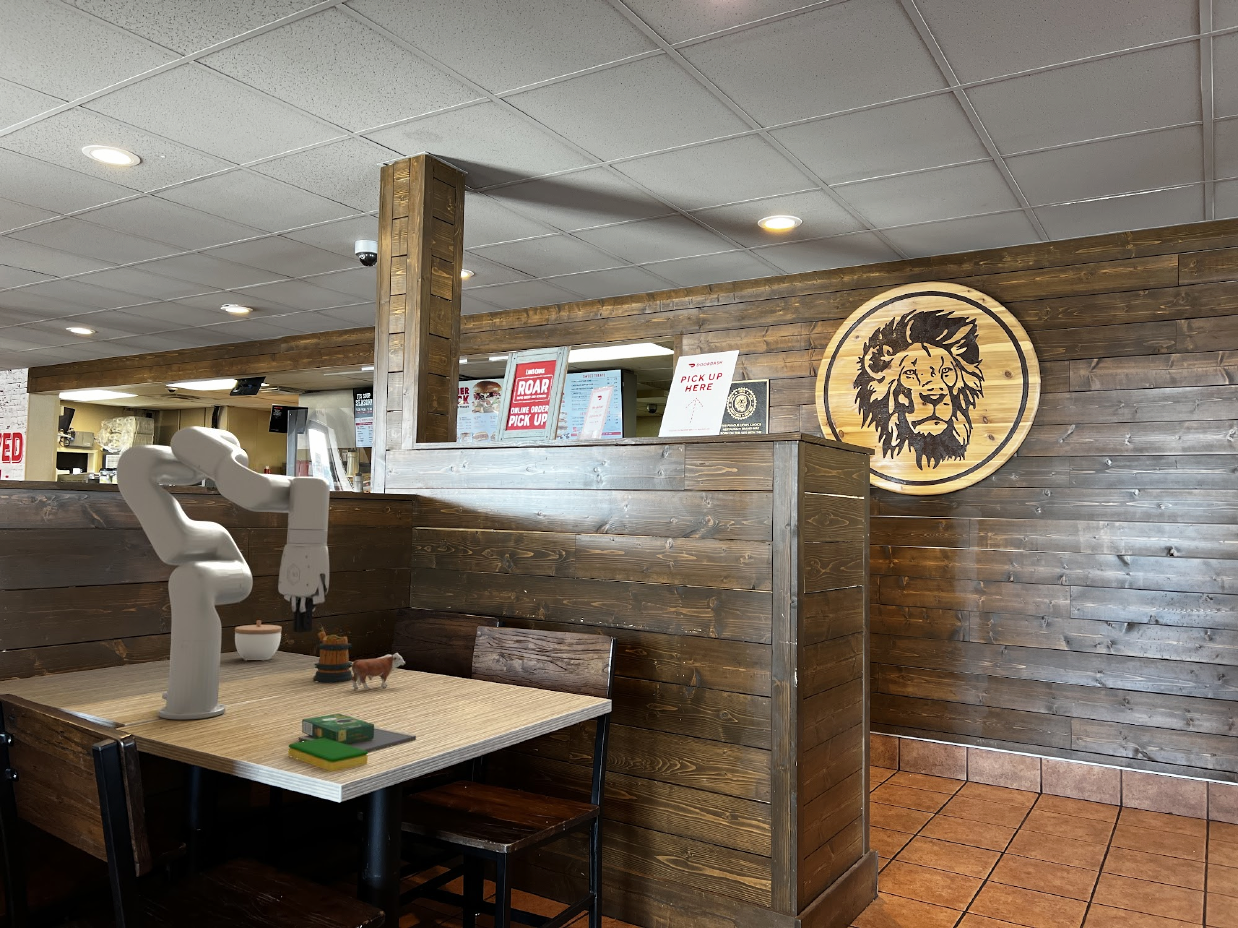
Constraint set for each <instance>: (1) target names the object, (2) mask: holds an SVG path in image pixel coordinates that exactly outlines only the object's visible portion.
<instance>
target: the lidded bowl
mask: <svg viewBox="0 0 1238 928" xmlns="http://www.w3.org/2000/svg"><path fill="white" fill-rule="evenodd" d="M282 628H283V627H282V626H280V625H273V624H262V620H256V624H247V625H240V626H236V627H235V628H234V633H235V634H234V642H235V649H236V650H237V652H238V654H239V655H240V656H241V657H242V658H243V660H244V661H247V660H262V661H267V660H268V661H269V660H271V657H273V656H274V654H276V653H277V651H278V649H279V647H280V644H281V643H280V642H281V638H282Z"/></svg>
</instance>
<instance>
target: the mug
mask: <svg viewBox="0 0 1238 928" xmlns="http://www.w3.org/2000/svg"><path fill="white" fill-rule="evenodd" d="M317 636H318V638H319V641H318V643H317V644H316V646H317V649H319V658H318V662H317V663H314V664H313V665H314V668H315V669H317V670H316V672H315V674H314V676H313V681H314V682H315V681H318V682H317V683H320V682H321V683H322V684H323V683H325V684H336V683H337V684H338V683H345V682H350V681H352V678H353V676H354V674H352V664H353V662H352V661H351V662H350V660H349V649H351V648H353V646H354V645H353V644H352V643H348V636H343V637H339V636H338V635H336V634H331V635H326V632H325V631H319V632H318V633H317ZM350 669H351V670H350Z"/></svg>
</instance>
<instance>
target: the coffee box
mask: <svg viewBox="0 0 1238 928" xmlns="http://www.w3.org/2000/svg"><path fill="white" fill-rule="evenodd" d="M301 724H302V725H301V727H302V728H301V732H302V734H304V735H306V736H308V735H310V736H312V737H315V738H318V739H320V738H327V739H330V740H333V741H336V742H340V743H343V744H348V743H354V742H359V741H365V740H370V739H374V727H375V724H374V723H371V722H367V721H366V720H365V721H364V720H360V719H357V718H354V717H351V716H348V715H345V714H342V713H336V714H328V715H321V716H314V717H309V718H303V719H302V720H301Z"/></svg>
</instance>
